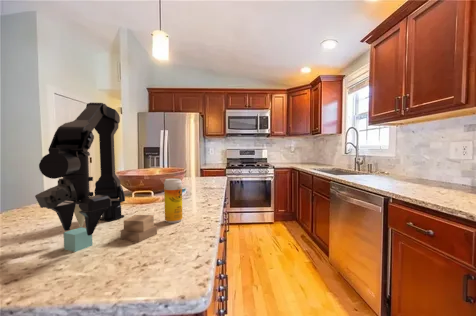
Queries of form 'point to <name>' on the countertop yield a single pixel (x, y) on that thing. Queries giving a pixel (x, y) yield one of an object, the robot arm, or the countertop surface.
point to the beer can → (173, 200)
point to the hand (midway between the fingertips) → (78, 232)
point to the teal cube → (77, 239)
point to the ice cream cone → (79, 215)
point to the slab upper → (138, 223)
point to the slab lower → (139, 234)
